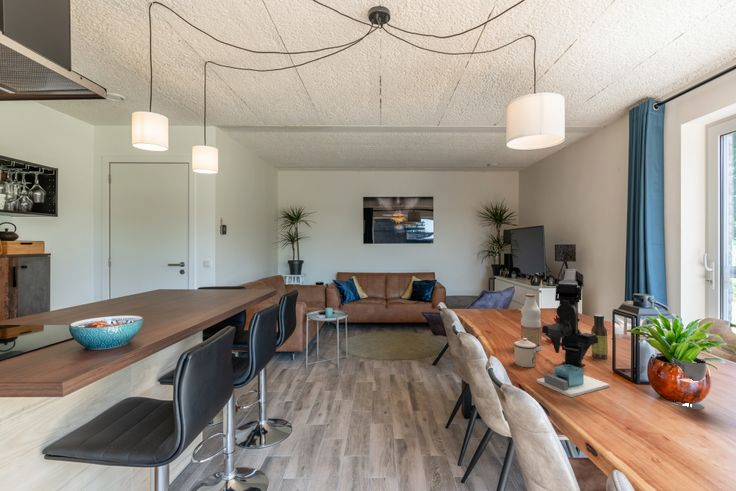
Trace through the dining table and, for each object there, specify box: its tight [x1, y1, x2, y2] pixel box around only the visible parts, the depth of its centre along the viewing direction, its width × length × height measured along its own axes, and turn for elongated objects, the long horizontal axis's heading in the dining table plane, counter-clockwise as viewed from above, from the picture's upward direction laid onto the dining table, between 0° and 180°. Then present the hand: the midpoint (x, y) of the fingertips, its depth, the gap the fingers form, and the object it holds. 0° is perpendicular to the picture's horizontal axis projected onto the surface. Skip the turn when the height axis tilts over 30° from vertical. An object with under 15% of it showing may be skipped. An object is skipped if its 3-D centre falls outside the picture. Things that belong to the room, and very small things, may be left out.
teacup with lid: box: [513, 338, 537, 368], centre depth 148 cm, size 12×9×12 cm
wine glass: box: [672, 356, 707, 411], centre depth 109 cm, size 8×8×15 cm
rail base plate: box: [536, 373, 610, 398], centre depth 125 cm, size 21×14×4 cm, turn 113°
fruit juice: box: [520, 293, 542, 352], centre depth 169 cm, size 9×9×28 cm
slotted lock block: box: [553, 364, 585, 388], centre depth 124 cm, size 8×6×6 cm
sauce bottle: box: [590, 313, 609, 360], centre depth 156 cm, size 6×6×20 cm
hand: (568, 356), depth 124 cm, fingers open, 9 cm apart
